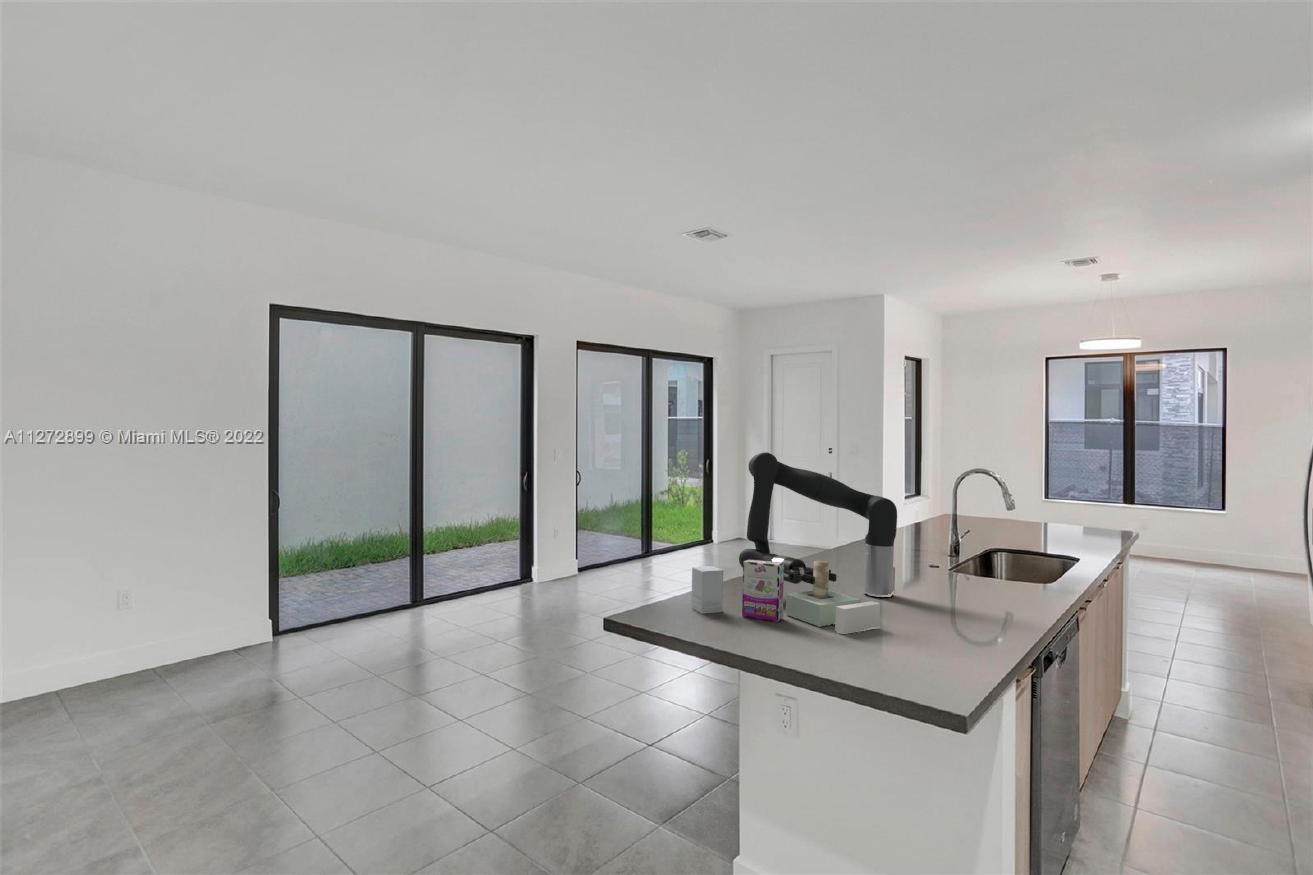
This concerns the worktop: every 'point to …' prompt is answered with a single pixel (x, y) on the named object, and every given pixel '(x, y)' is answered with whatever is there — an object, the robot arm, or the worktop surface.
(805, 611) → the socket block
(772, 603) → the candy bar box
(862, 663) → the worktop surface
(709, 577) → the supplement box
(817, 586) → the birch dowel
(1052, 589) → the worktop surface
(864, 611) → the backstop board
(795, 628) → the worktop surface
